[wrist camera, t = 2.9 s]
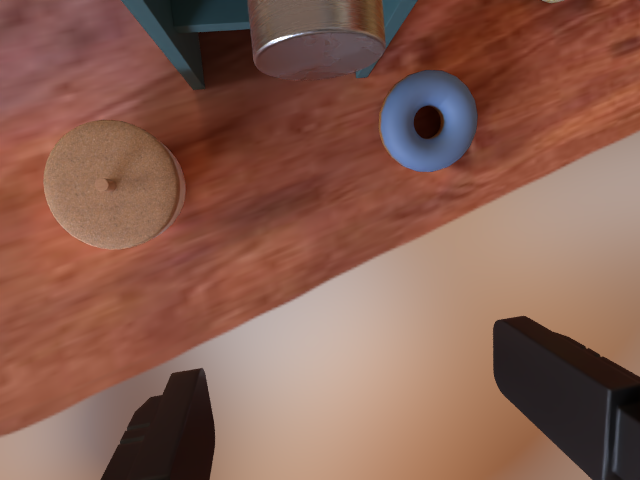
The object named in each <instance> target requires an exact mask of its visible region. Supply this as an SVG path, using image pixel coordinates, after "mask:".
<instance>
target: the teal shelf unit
mask: <svg viewBox="0 0 640 480" xmlns="http://www.w3.org/2000/svg"><path fill="white" fill-rule="evenodd" d="M121 1H122V2H123V3H124V5H125V6H126V7H127V8H128V10H129V11H130V12H131V13H132V14H133V16H134V17H135V18H136V19H137V21H138V22H139V23H140V24H141V26H142V27H143V28H144V29H145V31H146V32H147V33H148V34H149V36H150V37H151V38H152V39H153V40H154V42H155V43H156V44H157V45H158V47H159V48H160V49H161V50H162V52H163V53H164V54H165V55H166V57H167V58H168V59H169V60H170V62H171V63H172V64H173V65H174V66H175V68H176V69H177V70H178V71H179V73H180V74H181V75H182V76H183V78H184V79H185V80H186V81H187V83H188V84H189V85H190V86H191V88H192V89H193V90H199V89H205V84H204V75H203V67H202V59H201V51H200V43H199V35H198V32H210V31H227V30H243V29H250V23H249V14H248V5H247V0H121ZM382 2H383V15H384V29H385V42H386V48H387V46H388V45H389V43H390V42H391V40H392V39H393V37H394V36H395V34H396V33H397V31H398V29H399V28H400V26H401V25H402V23H403V22H404V20H405V19H406V17H407V16H408V14H409V13H410V11H411V10H412V8H413V7H414V5H415V4H416V2H417V0H382ZM386 48H385V49H386ZM377 62H378V61H376V62H375V63H373V64H372V65H370V66H368V67H366V68H364V69H362V70H359V71H357V72H356V78H365V77H368V75H369V74H370V72H371V71H372V69H373V68H374V66H375V65H376V63H377Z"/></svg>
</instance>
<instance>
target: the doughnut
mask: <svg viewBox="0 0 640 480" xmlns="http://www.w3.org/2000/svg"><path fill="white" fill-rule="evenodd" d="M424 106H431V107H433V108H435V109H436V110H437V111H438V113H439V115H440V119H441V125H440V128H439V131H438V132H437V134H436V135H435V136H433V137H432V138H429V139H424V138H421V137H420V136H419V135H418V134H417V132H416V131H415V128H414V117H415V114H416V113H417V111H418V110H419V109H420V108H422V107H424ZM477 117H478V115H477V109H476V104H475V100H474V98H473V96H472V94H471V93H470V91H469V89H468V87H467V86H466V85H465V84H464V83H463V82H462V81H460V80H459V79H458V78H457V77H456V76H454V75H451V74H449V73H446V72H444V71H437V70H424V71H421V72H417V73H414V74H411V75H408V76H406V77H405V78H404V79H402V80H401V81H399V82H398V83H397V84H395V85H394V87H393V88H392V89H391V91H390V92H389V93H388V95H387V96H386V97H385V99H384V102H383V105H382V108H381V110H380V113H379V133H380V137H381V140H382V144H383V146H384V147H385V149H386V150H387V152H388V153H389V155H390V156H391V157H392V158H393V159H394V160H396V161H397V162H398V163H399V164H400V165H402V166H404V167H407V168H410V169H412V170H415V171H420V172H433V171H436V170H439V169H443V168H446V167H448V166H450V165H451V164H453V163H454V162H456V161H457V160H458V159H460V158H461V157H462V156H463V154H464V153H465V152H466V151H467V149H468V148H469V147H470V145H471V143H472V140H473V138H474V135H475V133H476V127H477Z"/></svg>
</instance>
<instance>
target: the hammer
mask: <svg viewBox="0 0 640 480" xmlns="http://www.w3.org/2000/svg"><path fill="white" fill-rule="evenodd" d="M247 5H248V14H249V23H250V33H251V42H252V51H253V60H254V63H255V65H256V67H257V68H258V69H259V70H260V71H261V72H263V73H265V74H267V75H269V76H273V77H277V78H281V79H288V80H320V79H328V78H334V77H339V76H343V75H347V74H351V73H354V72H357V71H359V70H362V69H364V68H366V67H368V66H370V65H372V64H373V63H375V62H376V61H378V60H379V59H380V58H381V57H382V55H383V54H384V52H385V48H386V42H385V29H384V15H383V2H382V0H247Z"/></svg>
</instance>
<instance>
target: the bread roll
mask: <svg viewBox="0 0 640 480" xmlns="http://www.w3.org/2000/svg"><path fill="white" fill-rule="evenodd" d="M541 1H545V2H548V3H556V2H560V1H564V0H541Z"/></svg>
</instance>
